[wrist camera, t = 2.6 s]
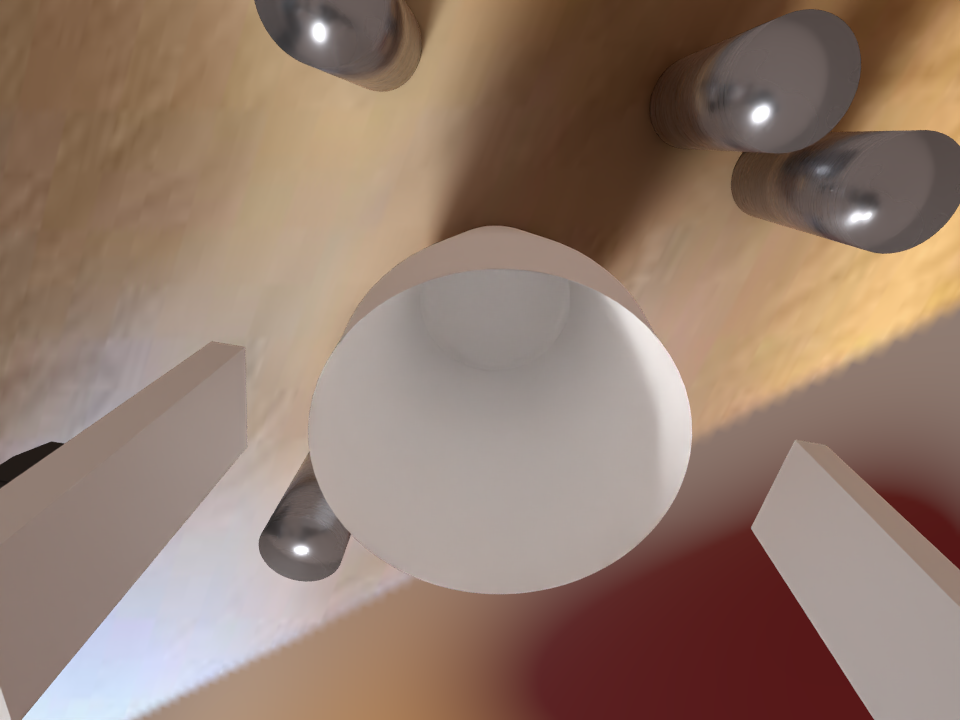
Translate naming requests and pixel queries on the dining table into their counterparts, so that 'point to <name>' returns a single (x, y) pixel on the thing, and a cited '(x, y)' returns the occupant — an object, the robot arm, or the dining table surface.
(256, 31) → the dining table surface
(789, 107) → the posts
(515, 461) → the cup
